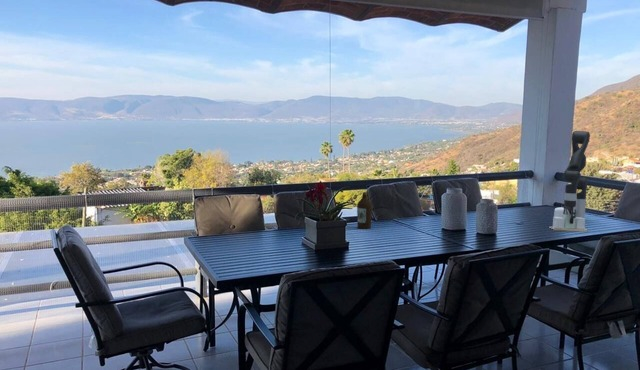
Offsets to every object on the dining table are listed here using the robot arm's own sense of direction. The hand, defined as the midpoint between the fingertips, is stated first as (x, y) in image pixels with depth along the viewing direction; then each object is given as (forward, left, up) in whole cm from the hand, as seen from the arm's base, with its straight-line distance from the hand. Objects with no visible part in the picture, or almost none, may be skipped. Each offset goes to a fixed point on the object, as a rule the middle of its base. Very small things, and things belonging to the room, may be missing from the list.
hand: (568, 222), depth 344 cm
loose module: (0, 0, -4) cm, 4 cm away
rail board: (0, 0, -5) cm, 5 cm away
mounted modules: (0, 0, -4) cm, 4 cm away
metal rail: (0, 0, -5) cm, 5 cm away
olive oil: (+9, -142, -5) cm, 142 cm away
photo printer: (-20, +3, -5) cm, 21 cm away
